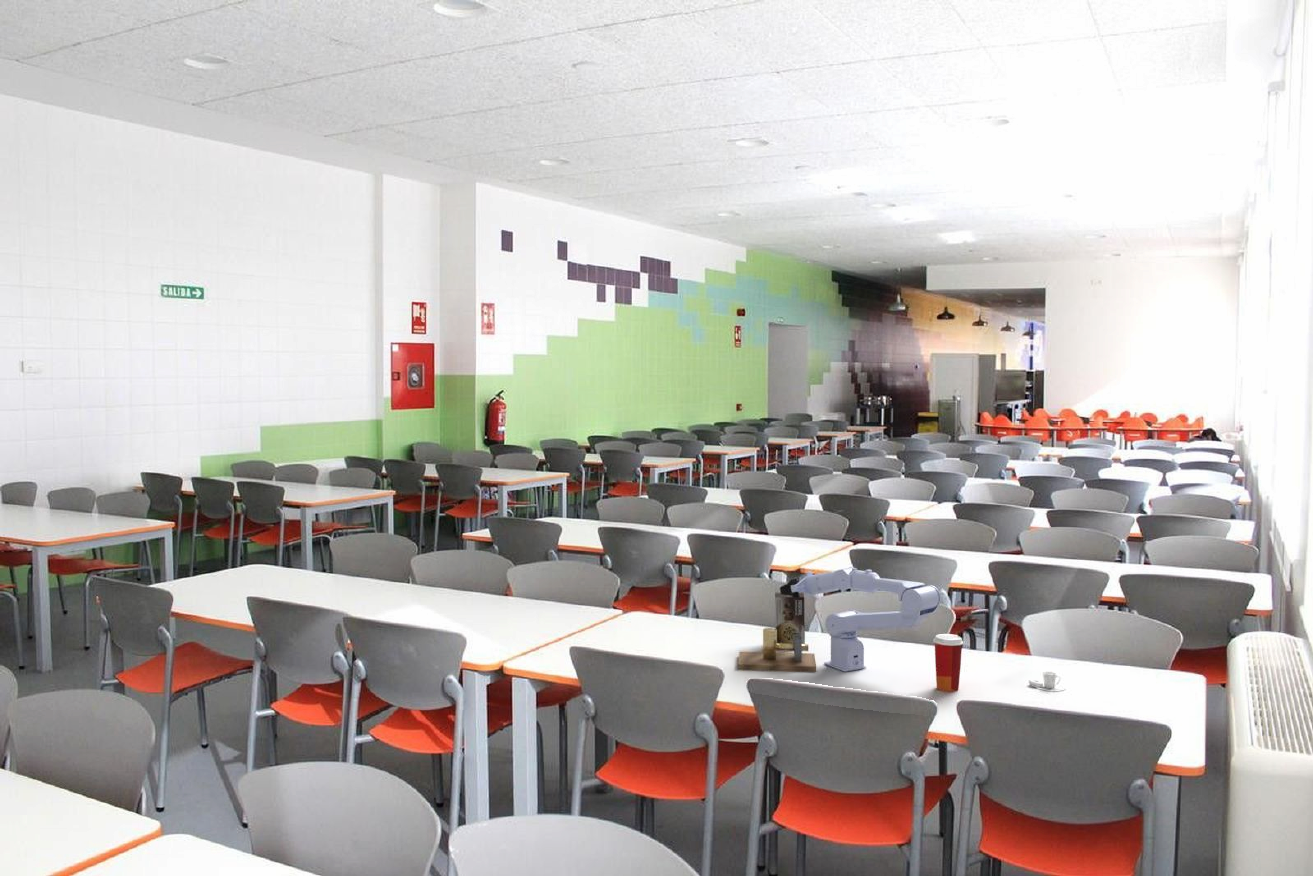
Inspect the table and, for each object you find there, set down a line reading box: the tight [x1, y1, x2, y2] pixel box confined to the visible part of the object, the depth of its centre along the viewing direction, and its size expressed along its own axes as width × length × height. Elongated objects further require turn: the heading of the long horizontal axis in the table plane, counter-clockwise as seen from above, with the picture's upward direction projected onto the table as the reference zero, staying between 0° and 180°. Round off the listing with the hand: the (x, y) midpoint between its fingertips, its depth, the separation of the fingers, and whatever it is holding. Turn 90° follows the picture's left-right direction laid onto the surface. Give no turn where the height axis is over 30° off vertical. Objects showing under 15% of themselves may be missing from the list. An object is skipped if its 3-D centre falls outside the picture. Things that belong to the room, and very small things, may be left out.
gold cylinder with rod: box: [762, 627, 809, 659], centre depth 299 cm, size 13×4×8 cm, turn 84°
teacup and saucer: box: [1028, 671, 1066, 692], centre depth 277 cm, size 9×8×4 cm
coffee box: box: [774, 592, 806, 644], centre depth 320 cm, size 9×6×16 cm
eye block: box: [737, 632, 817, 673], centre depth 300 cm, size 22×14×8 cm, turn 84°
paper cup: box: [932, 633, 964, 693], centre depth 275 cm, size 8×8×14 cm
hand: (789, 589), depth 312 cm, fingers open, 7 cm apart
